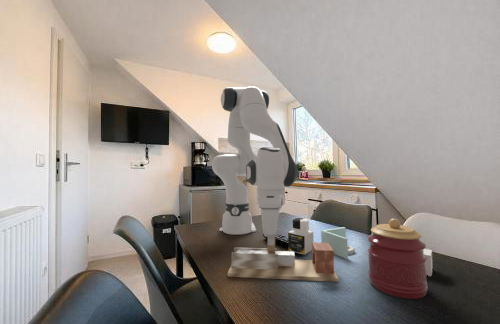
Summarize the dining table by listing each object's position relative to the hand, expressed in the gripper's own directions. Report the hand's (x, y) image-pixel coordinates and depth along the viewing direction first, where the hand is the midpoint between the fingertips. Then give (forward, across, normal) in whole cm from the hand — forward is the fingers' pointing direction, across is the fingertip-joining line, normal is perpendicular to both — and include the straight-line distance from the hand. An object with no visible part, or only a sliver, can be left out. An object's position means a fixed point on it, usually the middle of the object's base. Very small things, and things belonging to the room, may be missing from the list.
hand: (271, 242), depth 71 cm
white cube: (+8, -4, +45) cm, 46 cm away
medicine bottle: (+8, -18, +11) cm, 23 cm away
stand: (+8, 0, +3) cm, 9 cm away
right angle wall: (+9, -19, +27) cm, 34 cm away
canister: (+8, +7, +33) cm, 35 cm away
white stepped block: (+6, 0, -2) cm, 7 cm away
